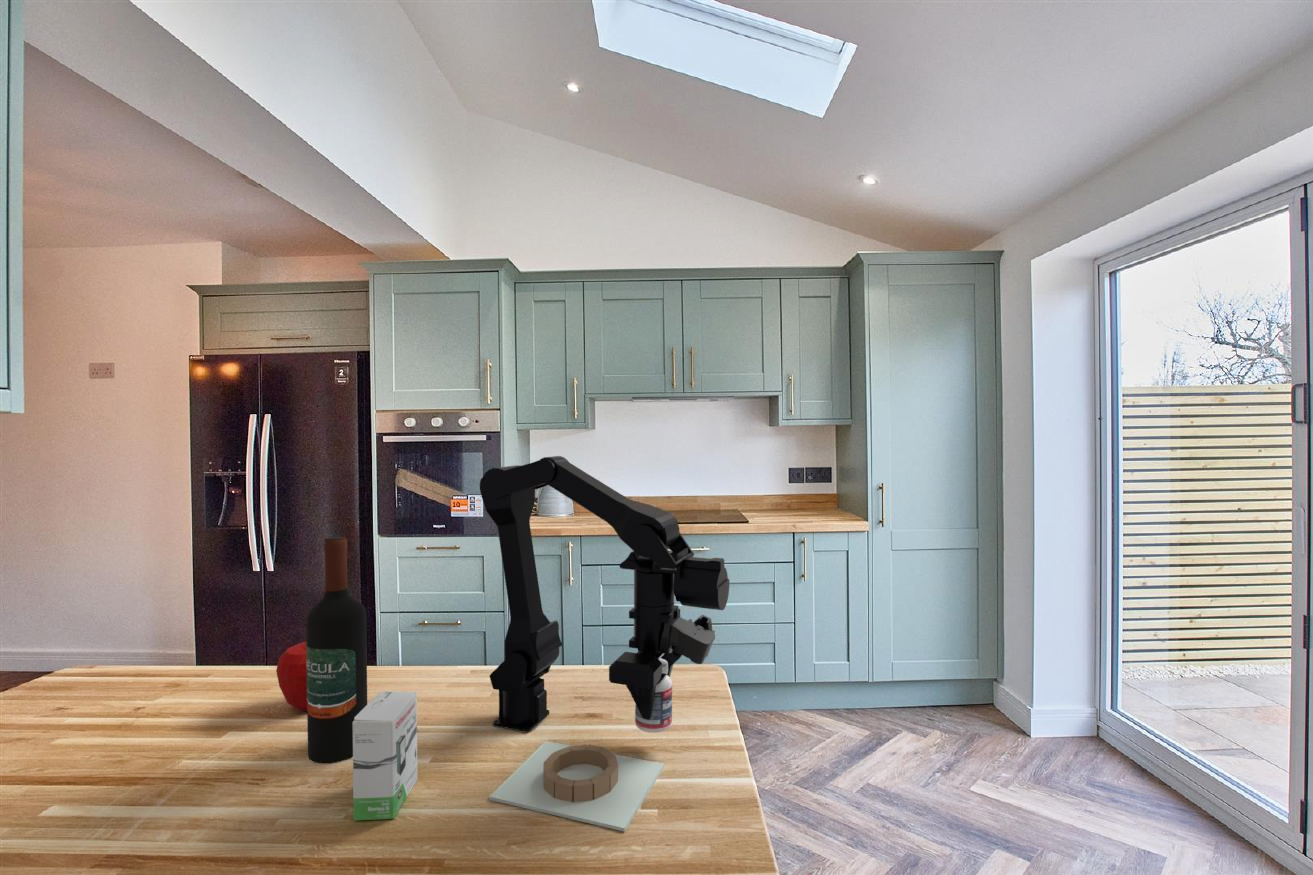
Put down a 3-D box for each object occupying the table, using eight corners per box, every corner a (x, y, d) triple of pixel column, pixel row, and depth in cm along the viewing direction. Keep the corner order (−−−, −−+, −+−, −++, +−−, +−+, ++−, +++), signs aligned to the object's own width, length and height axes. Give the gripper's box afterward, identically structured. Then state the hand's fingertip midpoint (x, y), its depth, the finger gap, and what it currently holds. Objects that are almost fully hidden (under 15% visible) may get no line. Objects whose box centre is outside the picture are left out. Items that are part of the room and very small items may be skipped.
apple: (342, 713, 99) (341, 645, 99) (272, 724, 95) (271, 654, 95) (346, 688, 108) (345, 626, 108) (283, 697, 104) (282, 633, 104)
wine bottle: (379, 742, 90) (377, 536, 89) (333, 768, 83) (330, 545, 82) (343, 731, 93) (340, 532, 92) (295, 755, 86) (292, 541, 86)
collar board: (489, 799, 77) (489, 780, 77) (545, 743, 90) (545, 727, 90) (624, 831, 71) (625, 810, 71) (664, 766, 84) (664, 749, 84)
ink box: (394, 821, 73) (392, 721, 72) (350, 822, 72) (349, 721, 72) (419, 778, 81) (418, 688, 81) (380, 779, 81) (379, 689, 81)
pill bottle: (668, 735, 85) (668, 671, 85) (631, 731, 86) (631, 668, 86) (674, 717, 91) (675, 657, 90) (639, 713, 92) (640, 654, 91)
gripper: (690, 628, 77) (689, 753, 77) (724, 589, 94) (724, 691, 95) (607, 618, 80) (607, 738, 81) (655, 582, 98) (654, 680, 98)
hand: (653, 710), depth 88 cm, fingers closed on pill bottle, 5 cm apart
